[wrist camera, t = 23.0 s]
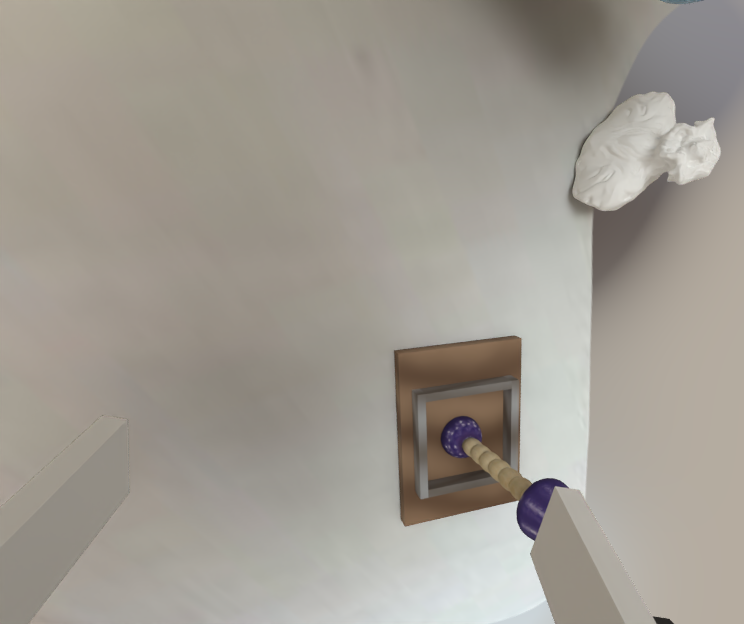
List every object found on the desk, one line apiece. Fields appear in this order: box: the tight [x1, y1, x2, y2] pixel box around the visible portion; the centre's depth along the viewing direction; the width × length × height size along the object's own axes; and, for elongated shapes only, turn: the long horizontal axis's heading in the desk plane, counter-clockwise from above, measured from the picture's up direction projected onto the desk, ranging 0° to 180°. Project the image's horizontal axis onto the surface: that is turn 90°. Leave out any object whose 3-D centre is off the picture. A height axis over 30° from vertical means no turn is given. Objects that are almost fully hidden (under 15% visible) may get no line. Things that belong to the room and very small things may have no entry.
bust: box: [572, 92, 721, 211], centre depth 41 cm, size 12×8×11 cm
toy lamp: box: [441, 416, 569, 541], centre depth 37 cm, size 5×5×17 cm
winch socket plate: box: [394, 336, 521, 526], centre depth 45 cm, size 18×13×3 cm
